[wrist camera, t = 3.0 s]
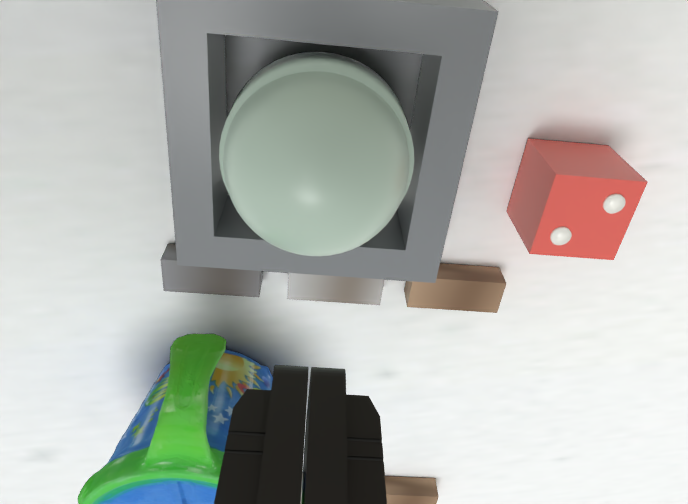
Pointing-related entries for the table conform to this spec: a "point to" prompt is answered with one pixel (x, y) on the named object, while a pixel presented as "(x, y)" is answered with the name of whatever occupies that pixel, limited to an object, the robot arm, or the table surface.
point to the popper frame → (329, 29)
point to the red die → (573, 199)
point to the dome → (316, 153)
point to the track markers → (447, 293)
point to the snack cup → (179, 428)
